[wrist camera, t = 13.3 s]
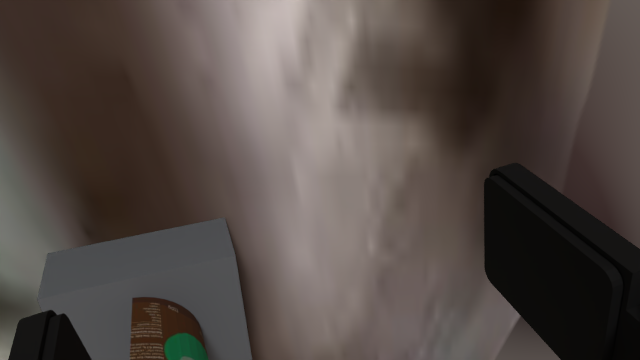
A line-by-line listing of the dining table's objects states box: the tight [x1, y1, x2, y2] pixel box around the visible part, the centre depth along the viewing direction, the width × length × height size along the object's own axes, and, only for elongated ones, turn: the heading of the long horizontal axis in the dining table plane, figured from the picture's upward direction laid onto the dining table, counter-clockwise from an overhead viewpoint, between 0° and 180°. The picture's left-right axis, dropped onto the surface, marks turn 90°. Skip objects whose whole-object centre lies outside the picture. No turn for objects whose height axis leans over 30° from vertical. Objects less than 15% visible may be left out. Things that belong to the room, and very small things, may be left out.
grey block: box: [37, 218, 252, 360], centre depth 45 cm, size 14×14×6 cm
